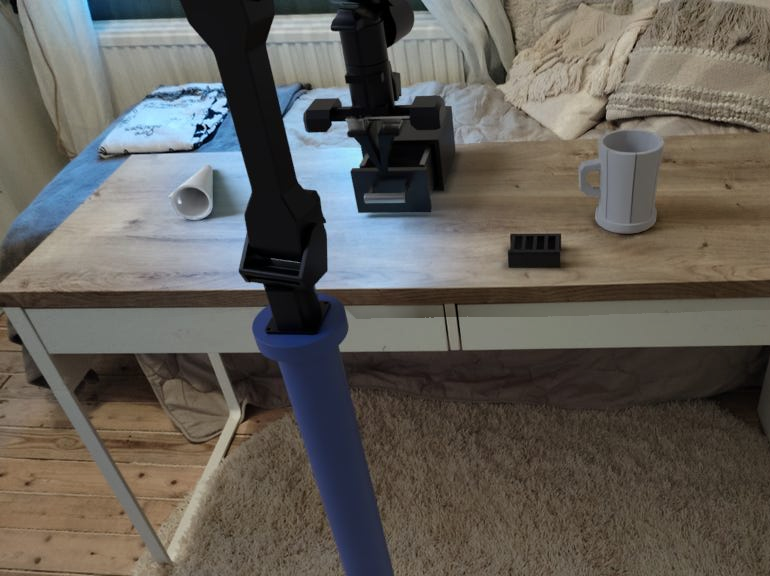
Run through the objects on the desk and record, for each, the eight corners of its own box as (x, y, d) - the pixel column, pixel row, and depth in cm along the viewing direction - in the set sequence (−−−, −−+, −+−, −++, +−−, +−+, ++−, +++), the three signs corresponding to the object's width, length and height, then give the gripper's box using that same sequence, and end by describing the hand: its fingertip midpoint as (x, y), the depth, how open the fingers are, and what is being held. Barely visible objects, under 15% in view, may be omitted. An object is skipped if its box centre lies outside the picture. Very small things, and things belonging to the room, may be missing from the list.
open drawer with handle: (426, 226, 104) (421, 183, 99) (351, 226, 105) (342, 184, 101) (443, 174, 117) (439, 134, 113) (377, 174, 119) (370, 135, 114)
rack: (561, 248, 98) (561, 233, 97) (560, 267, 94) (560, 252, 93) (511, 248, 99) (510, 233, 98) (508, 267, 95) (507, 252, 94)
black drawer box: (444, 190, 115) (438, 139, 109) (368, 191, 116) (359, 141, 111) (455, 153, 126) (451, 105, 120) (386, 155, 127) (379, 107, 122)
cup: (616, 246, 98) (621, 164, 90) (572, 222, 104) (574, 143, 96) (669, 221, 102) (678, 141, 95) (624, 200, 108) (630, 123, 101)
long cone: (245, 176, 128) (218, 216, 112) (211, 182, 128) (179, 223, 112) (233, 145, 125) (204, 181, 109) (198, 151, 125) (164, 189, 109)
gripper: (446, 39, 97) (455, 149, 107) (315, 44, 99) (336, 151, 109) (433, 65, 88) (445, 181, 98) (290, 70, 90) (315, 183, 100)
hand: (384, 172), depth 102 cm, fingers closed
